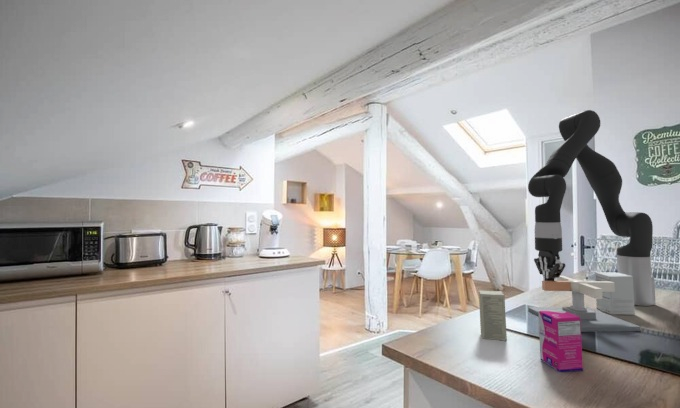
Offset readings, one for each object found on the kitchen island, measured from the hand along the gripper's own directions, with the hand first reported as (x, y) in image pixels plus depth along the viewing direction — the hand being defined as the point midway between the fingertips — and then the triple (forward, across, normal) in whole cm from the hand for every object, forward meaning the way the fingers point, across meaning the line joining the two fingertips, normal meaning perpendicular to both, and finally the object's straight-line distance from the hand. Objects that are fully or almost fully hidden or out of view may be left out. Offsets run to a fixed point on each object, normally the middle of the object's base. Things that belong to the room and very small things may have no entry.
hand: (549, 289), depth 105 cm
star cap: (0, +4, +6) cm, 7 cm away
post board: (+9, +4, +6) cm, 11 cm away
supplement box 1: (+9, +34, -19) cm, 40 cm away
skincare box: (+9, +17, -26) cm, 33 cm away
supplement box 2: (+9, -4, +24) cm, 26 cm away
